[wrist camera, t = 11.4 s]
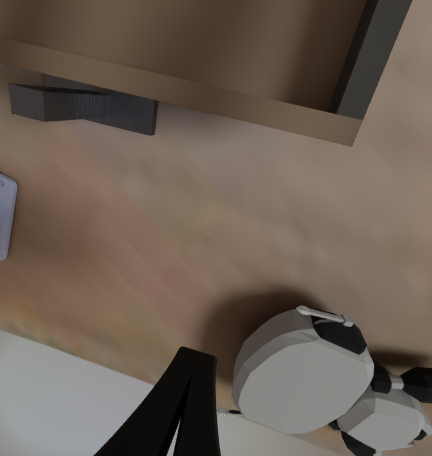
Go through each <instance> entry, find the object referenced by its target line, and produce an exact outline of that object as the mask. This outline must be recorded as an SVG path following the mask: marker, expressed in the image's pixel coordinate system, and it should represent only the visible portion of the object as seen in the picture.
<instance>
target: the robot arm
mask: <svg viewBox="0 0 432 456" xmlns="http://www.w3.org/2000/svg"><path fill="white" fill-rule="evenodd" d="M16 195H17V184H16V182H15V181H14V180H12V179H11V178H9V177H7V176H5V175H3V174H1V173H0V261H2V260H4V259H6V258H7V254H8V248H9V241H10V234H11V228H12V221H13V215H14V208H15V201H16ZM216 364H217V359H216V357H215V356H212V355H209V354H206V353H203V352H199V351H196V350H193V349H190V348H187V347H180V348H179V350H178V352H177V354H176V355H175V357H174V359H173V360H172V362H171V364H170V365H169V367H168V368H167V370H166V371H165V372H164V374H163V375H162V377H161V378H160V380H159V381H158V382H157V383H156V385H155V386H154V388H153V389H152V390H151V391H150V393H149V394H148V395H147V397H146V398H145V399H144V400H143V402H142V403H141V404H140V405H139V406H138V407H137V409H136V410H135V411H134V412H133V413H132V414H131V416H130V417H129V418H128V419H127V420H126V422H125V423H124V424H123V425H122V426H121V427H120V428H119V429H118V431H117V432H116V433H115V434H114V435H113V436H112V437H111V438H110V439H109V440H108V441H107V442H106V443H105V444H104V446H102V448H101V449H100V450H99V451H98V452H97V453H96V454H95V455H94V456H167V453H168V450H169V448H170V445H171V443H172V440H173V437H174V435H175V432H176V429H177V426H178V424H179V421H180V425H179V429H178V434H177V439H176V444H175V449H174V453H173V456H221V453H220V446H219V436H218V426H217V412H216V387H215V383H216ZM180 419H181V420H180Z"/></svg>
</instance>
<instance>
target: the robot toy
mask: <svg viewBox="0 0 432 456" xmlns="http://www.w3.org/2000/svg"><path fill="white" fill-rule="evenodd" d="M366 346H367V344H366V342H365V340H364V338H363V335H362V333H361V331H360V329H359V328H358V327H357V326H356V325H355V324H354V322H353V321H352V319H351V318H350V316H347V315H343V314H342V315H341V316H338V315H336V314H334V313H330V312H326V311H323V310H320V309H315V310H313V309H309V308H308V307H305V306H299V307H297V308H296V309H293V310H290V311H286V312H283V313H280V314H278V315H276V316H274V317H273V318H271V319H270V320H268V321H267V322H265V323H264V324H263V325H261V326H260V327H259V328H258V329H257V330H256V331H255V332H254V333H253V334H252V335H251V336H250V337H249V338H247V339H246V340H245V341H244V343H243V345H242V347H241V350H240V352H239V354H238V356H237V358H236V361H235V365H234V371H233V385H232V398H233V402H234V405H235V406H236V407H237V409H238V410H239V411H236V410H226V409H224V408H218V409H216V412H217V415H235V416H244V417H245V418H247V419H249V420H252V421H254V422H257V423H259V424H262V425H264V426H267V427H269V428H272V429H274V430H277V431H279V432H282V433H284V434H299V433H308V432H311V431H313V430H316V429H318V428H320V427H323V426H325V425H327V424H328V425H329V426H330V427H332V428H333V429H334V430H340V429H341V434H342V438H343V440H344V442H345V444H346V446H347V448H348V449H349V450H350V451H351V452H352V453H353V454H355V455H356V456H373V455H374V456H381V453H382V451H386V450H395V449H398V448H407V447H412V446H415V444H414V442H413V440H421V439H423V438H424V437H425V436H426V434H428V435H429V436H431V434H432V425H431V424H430V422H429V420H428V418H427V416H426V414H425V412H424V411H423V409H422V407H421V405H420V403H419V401H420V402H422V403H432V368H423V367H415V368H413V369H411V370H409V371H407V372H405V373H403V374H402V375H400V376H397V375H391V374H388V373H387V372H386V370H385V369H384V368H378V367H374V363H373V361H372V359H371V356H370V354H369V352H368V350H367V347H366Z"/></svg>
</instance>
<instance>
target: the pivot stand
mask: <svg viewBox="0 0 432 456" xmlns="http://www.w3.org/2000/svg"><path fill="white" fill-rule="evenodd" d="M9 91H10V100H11V109H12V114H16V115H20V116H24V117H28V118H32V119H36V120H40V121H44V122H48V121H62V120H76V119H86V120H90V121H94V122H98V123H102V124H106V125H110V126H114V127H118V128H122V129H126V130H130V131H134V132H138V133H142V134H146V135H150V136H151V135H155V126H156V116H157V107H158V101H157V100H153V99H149V98H145V97H141V96H136V95H132V94H128V93H124V92H119V91H115V90H111V89H107V88H103V87H98V86H94V85H90V84H86V83H82V82H77V81H73V80H69V79H65V78H60V77H56V76H52V75H48V74H45V86H33V85H21V84H9Z"/></svg>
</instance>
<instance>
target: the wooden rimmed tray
mask: <svg viewBox="0 0 432 456" xmlns="http://www.w3.org/2000/svg"><path fill="white" fill-rule="evenodd" d="M411 2H412V0H0V63H1V64H6V65H10V66H14V67H18V68H23V69H27V70H31V71H35V72H39V73H44V74H48V75H52V76H56V77H60V78H65V79H69V80H73V81H77V82H82V83H86V84H90V85H94V86H98V87H103V88H107V89H111V90H115V91H119V92H124V93H128V94H132V95H136V96H141V97H145V98H149V99H153V100H157V101H162V102H166V103H170V104H174V105H178V106H183V107H187V108H191V109H195V110H200V111H204V112H208V113H212V114H216V115H221V116H225V117H229V118H233V119H237V120H242V121H246V122H250V123H254V124H259V125H263V126H267V127H271V128H275V129H280V130H284V131H288V132H292V133H296V134H301V135H305V136H309V137H313V138H317V139H322V140H326V141H330V142H334V143H339V144H343V145H347V146H351V147H352V145H353V143H354V140H355V138H356V135H357V133H358V131H359V128H360V126H361V123H362V121H363V119H364V116H365V114H366V111H367V109H368V106H369V104H370V102H371V99H372V97H373V94H374V92H375V89H376V87H377V85H378V82H379V80H380V77H381V75H382V72H383V70H384V68H385V65H386V63H387V60H388V58H389V56H390V53H391V51H392V48H393V46H394V43H395V41H396V39H397V36H398V34H399V31H400V29H401V26H402V24H403V22H404V19H405V17H406V14H407V12H408V9H409V7H410V5H411Z"/></svg>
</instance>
